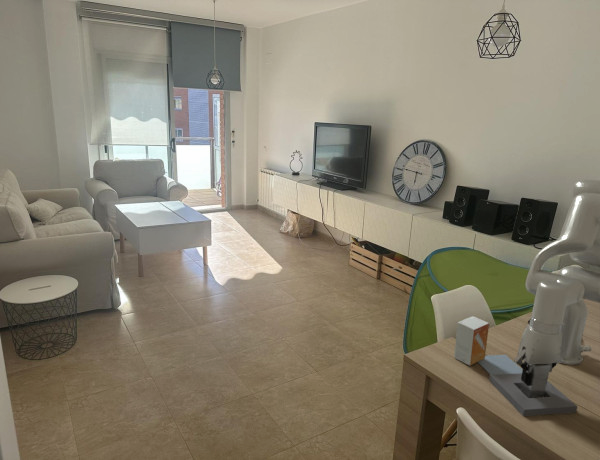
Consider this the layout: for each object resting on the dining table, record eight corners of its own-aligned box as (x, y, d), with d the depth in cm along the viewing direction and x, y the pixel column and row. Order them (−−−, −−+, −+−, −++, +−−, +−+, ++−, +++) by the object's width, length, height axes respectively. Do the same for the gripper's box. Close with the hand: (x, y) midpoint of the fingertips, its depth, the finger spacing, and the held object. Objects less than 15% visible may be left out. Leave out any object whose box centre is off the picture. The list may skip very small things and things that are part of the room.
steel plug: (533, 386, 127) (539, 356, 125) (543, 396, 123) (550, 365, 120) (519, 387, 126) (525, 357, 124) (529, 397, 122) (536, 366, 120)
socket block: (536, 378, 134) (537, 372, 133) (575, 412, 118) (577, 406, 118) (489, 380, 131) (490, 374, 131) (523, 416, 116) (524, 409, 115)
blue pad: (505, 355, 146) (505, 354, 146) (528, 376, 134) (529, 375, 134) (472, 357, 144) (472, 356, 144) (493, 378, 132) (493, 377, 132)
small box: (470, 366, 138) (474, 329, 134) (453, 357, 143) (456, 321, 139) (485, 358, 142) (489, 322, 139) (468, 350, 147) (472, 315, 144)
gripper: (563, 317, 124) (550, 373, 129) (509, 319, 121) (498, 376, 126) (583, 330, 117) (569, 388, 122) (526, 332, 114) (514, 392, 119)
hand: (533, 381), depth 124 cm, fingers closed on steel plug, 4 cm apart
